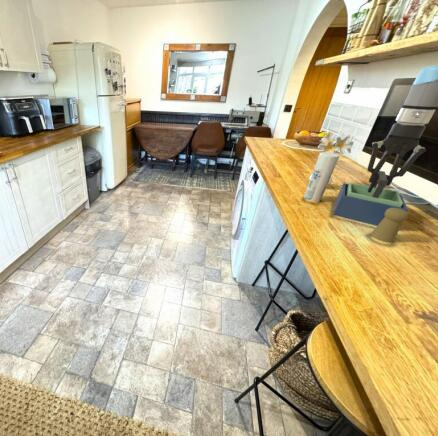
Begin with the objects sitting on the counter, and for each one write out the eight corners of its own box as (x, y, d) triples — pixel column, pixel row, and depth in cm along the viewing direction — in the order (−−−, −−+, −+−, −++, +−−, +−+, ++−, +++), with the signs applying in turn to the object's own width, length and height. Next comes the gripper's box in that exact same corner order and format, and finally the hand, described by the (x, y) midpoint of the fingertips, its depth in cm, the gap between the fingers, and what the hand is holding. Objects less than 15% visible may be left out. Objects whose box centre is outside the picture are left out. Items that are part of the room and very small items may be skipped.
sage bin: (385, 212, 92) (407, 175, 84) (388, 226, 83) (413, 185, 76) (340, 202, 99) (356, 167, 92) (339, 214, 91) (357, 175, 83)
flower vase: (301, 189, 114) (320, 134, 101) (305, 178, 127) (324, 128, 114) (333, 196, 107) (359, 139, 94) (335, 184, 120) (358, 132, 107)
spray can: (300, 196, 107) (317, 151, 97) (316, 197, 106) (334, 152, 96) (306, 202, 101) (324, 155, 91) (322, 204, 100) (343, 157, 90)
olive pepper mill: (373, 242, 77) (392, 212, 71) (366, 232, 82) (382, 203, 76) (397, 246, 75) (417, 216, 69) (388, 236, 80) (406, 207, 74)
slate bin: (388, 214, 93) (401, 194, 88) (393, 232, 82) (407, 209, 78) (334, 202, 102) (343, 183, 97) (332, 216, 91) (342, 195, 87)
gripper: (379, 122, 76) (348, 190, 88) (448, 127, 69) (403, 201, 80) (378, 119, 82) (348, 184, 93) (441, 124, 74) (400, 194, 86)
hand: (373, 192), depth 87 cm, fingers closed on sage bin, 2 cm apart
